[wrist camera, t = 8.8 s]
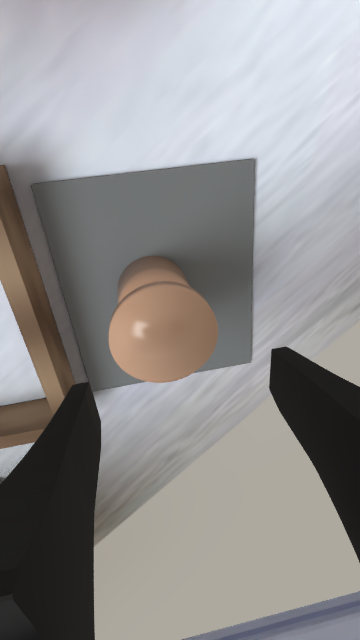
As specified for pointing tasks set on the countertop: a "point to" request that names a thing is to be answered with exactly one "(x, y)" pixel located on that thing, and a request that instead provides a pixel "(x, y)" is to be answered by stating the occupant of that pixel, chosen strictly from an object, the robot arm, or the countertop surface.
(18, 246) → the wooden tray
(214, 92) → the countertop surface
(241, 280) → the slate mat
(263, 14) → the countertop surface
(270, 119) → the countertop surface
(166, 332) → the wooden drawer knob
